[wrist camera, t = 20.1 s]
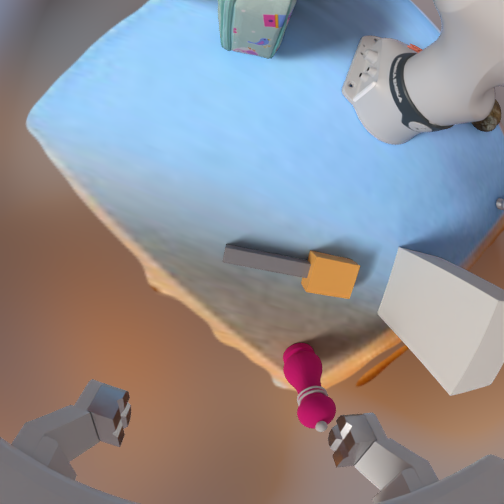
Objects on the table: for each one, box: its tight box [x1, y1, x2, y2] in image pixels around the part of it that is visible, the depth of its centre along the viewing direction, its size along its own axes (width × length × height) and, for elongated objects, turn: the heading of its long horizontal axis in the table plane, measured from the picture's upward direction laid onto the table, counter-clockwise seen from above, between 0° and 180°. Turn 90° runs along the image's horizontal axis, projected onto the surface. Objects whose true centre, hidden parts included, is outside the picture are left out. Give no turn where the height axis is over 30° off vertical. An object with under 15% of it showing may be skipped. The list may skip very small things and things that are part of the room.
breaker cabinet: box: [377, 247, 504, 396], centre depth 36 cm, size 14×13×26 cm
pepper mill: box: [283, 343, 336, 432], centre depth 42 cm, size 7×7×20 cm
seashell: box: [471, 99, 501, 132], centre depth 36 cm, size 11×9×8 cm
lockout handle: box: [223, 244, 360, 299], centre depth 44 cm, size 6×22×4 cm, turn 78°
